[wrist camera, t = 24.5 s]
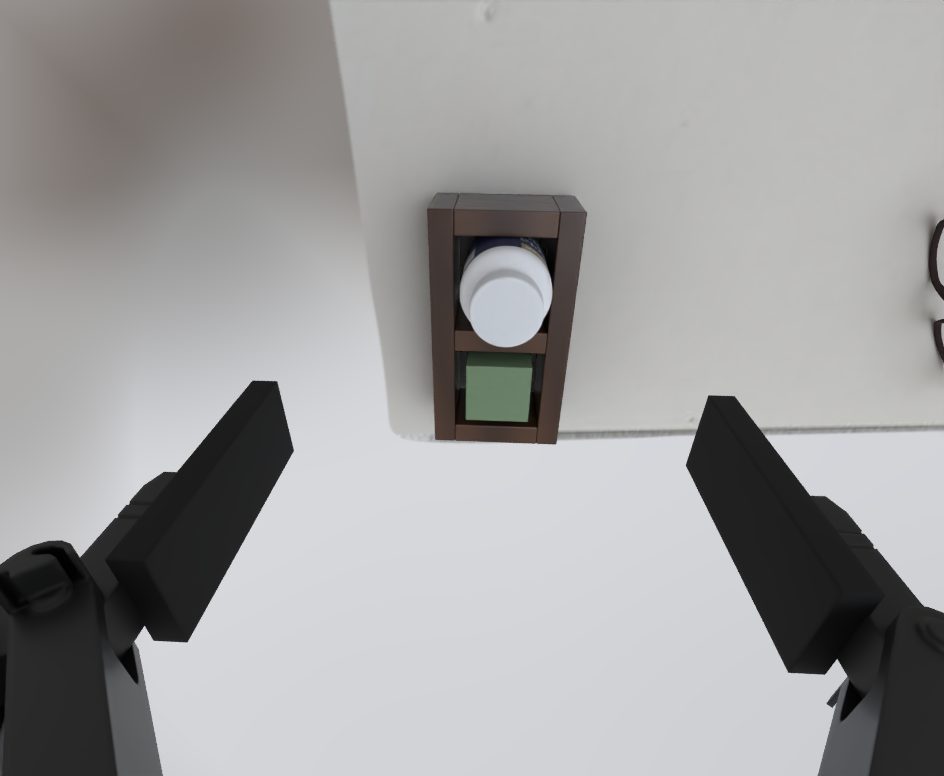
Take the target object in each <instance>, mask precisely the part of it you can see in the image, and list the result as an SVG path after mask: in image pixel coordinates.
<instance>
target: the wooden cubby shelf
mask: <svg viewBox="0 0 944 776" xmlns="http://www.w3.org/2000/svg"><path fill="white" fill-rule="evenodd" d="M427 216H428V245H429V274H430V302H431V331H432V360H433V389H434V418H435V439H436V440H456V441H480V442H506V443H533V444H534V443H537V444H556V442H557V435H558V428H559V420H560V412H561V405H562V397H563V390H564V382H565V375H566V367H567V360H568V352H569V345H570V337H571V330H572V322H573V315H574V307H575V300H576V292H577V285H578V277H579V270H580V262H581V254H582V247H583V239H584V232H585V224H586V217H587V212H586V211H585V209H584V208H583V207H582V205H581V204H580V203H579V201H578V200H577V198H576V197H575V196H557V195H553V196H551V195H512V194H466V193H461V194H460V195H459V194H458V193H437V194H436V196H435V197H434V199H433V201H432V202H431V204H430V206H429V207H428V209H427ZM460 236H484V237H524V238H548V244H547V255H546V263H547V267H548V271H549V274H550V278H551V282H552V301H551V305H550V308H549V310H548V312H547V314H546V316H545V317H544V319H543V322H542V325H541V327H540V328H539V330H538V332H537V333H536V334H535V335H534V336H533V337H532V338H531V339H530V340H528V341H527V342H525V343H523V344H521V345H518V346H513V347H499V346H495V345H492V344H489V343H488V342H486V341H484V340H483V339H482V338H480V337H479V336H478V335H477V333H476V332H475V330H474V329H473V327H472V325H471V322H470V321H469V320H468V318H467V317H466V315H465V313H464V311H463V309H462V306H461V302H460ZM460 351H477V352H507V353H537V360H536V371H535V382H534V392H531V391H530V402H529V413H528V421H527V422H515V421H489V420H466V389H460Z"/></svg>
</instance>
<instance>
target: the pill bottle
mask: <svg viewBox="0 0 944 776" xmlns="http://www.w3.org/2000/svg"><path fill="white" fill-rule="evenodd" d="M551 301H552V282H551V278H550V274H549V271H548V267H547V263H546V259H545V255H544V251H543V248H542V246H541V243H540V241H539V240H538V238H524V237H484V236H475V237H474V239H473V240H472V242H471V244H470V246H469V249H468V252H467V256H466V261H465V266H464V270H463V275H462V279H461V284H460V302H461V306H462V309H463V311H464V313H465V315H466V317H467V318H468V320H469V321H470V322H471V325H472V327H473V329H474V330H475V332H476V333H477V335H478V336H479V337H480V338H482V339H483V340H484V341H486V342H488V343H489V344H492V345H495V346H499V347H513V346H518V345H521V344H523V343H525V342H527V341H528V340H530V339H531V338H532V337H533V336H534V335H535V334H536V333H537V332H538V330H539V328H540V327H541V325H542V322H543V319H544V317H545V316H546V314H547V312H548V310H549V308H550V305H551Z"/></svg>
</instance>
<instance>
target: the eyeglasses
mask: <svg viewBox="0 0 944 776" xmlns="http://www.w3.org/2000/svg"><path fill="white" fill-rule="evenodd" d="M943 228H944V219H943V220H942V221H940V222H939V223H938V224H937V226H936V229H935V232H934V235H933V239H932V242H931V248H930V259H929V266H930V277H931V282H932V284H933V286H934V288H935V290H936V291H937V293H938V294H939V295H940V297H941V298H942V299H943V300H944V286H943V285H942V284H941V283H940V280H939V277H938V271H937V260H936V259H937V248H938V243H939V239H940V236H941V233H942V230H943ZM942 323H944V319H941V320H938V321H936V322H935V323H934V334H935V340H936V345H937V348H938V351H939V353H940V356H941V358H942V360H943V362H944V346H943V342H942V337H941V325H942Z"/></svg>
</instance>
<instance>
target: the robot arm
mask: <svg viewBox="0 0 944 776" xmlns="http://www.w3.org/2000/svg"><path fill="white" fill-rule="evenodd" d="M293 451H294V449H293V445H292V441H291V437H290V433H289V429H288V424H287V420H286V416H285V412H284V408H283V404H282V400H281V395H280V391H279V387H278V383H277V381H252V382H251V383H250V384H249V386H248V387H247V388H246V389H245V391H244V392H243V393H242V394H241V395H240V397H239V398H238V399H237V400H236V401H235V403H234V404H233V405H232V406H231V408H230V409H229V410H228V411H227V412H226V414H225V415H224V416H223V417H222V418H221V420H220V421H219V422H218V423H217V424H216V426H215V427H214V428H213V429H212V431H211V432H210V433H209V434H208V435H207V437H206V438H205V439H204V440H203V441H202V443H201V444H200V445H199V447H197V449H196V450H195V451H194V452H193V454H192V455H191V456H190V457H189V458H188V460H187V461H186V462H185V463H184V464H183V466H182V467H181V468H180V469H179V470H178V472H163V473H162V474H160V475H159V476H157V477H156V478H154V479H153V480H151V481H150V482H148V483H147V484H145V485H144V486H143V487H142V488H141V489H140V490H139V492H138V493H137V494H136V495H135V496H134V497H133V498H132V499H131V501H130V504H129V505H126V506H125V507H124V509H123V510H122V511H121V512H120V513H119V514H118V518H115V519H114V520H113V521H112V522H111V523H110V524H109V526H108V527H107V528H106V529H105V530H104V531H103V532H102V534H101V535H100V536H99V537H98V538H97V539H96V540H95V541H94V543H93V544H92V545H91V546H90V547H89V548H88V550H87V551H86V552H85V553H84V554H83V555H82V556H81V557H79V556H78V554H77V553H76V551H75V550H74V548H73V546H72V545H71V544H70V543H67V542H64V541H47V542H43V543H40V544H36V545H33V546H30V547H28V548H26V549H24V550H22V551H20V552H18V553H16V554H15V555H13V556H12V557H10V558H9V559H7V560H6V561H5V562H3V563H2V564H0V776H163V774H162V769H161V764H160V759H159V754H158V748H157V743H156V738H155V732H154V727H153V722H152V717H151V711H150V706H149V701H148V697H147V691H146V686H145V681H144V675H143V670H142V665H141V659H140V655H139V649H138V648H137V646H136V644H135V642H134V641H135V639H136V638H137V636H138V635H139V633H140V632H141V630H142V629H143V627H144V626H145V627H146V629H147V630H148V632H149V634H150V635H151V637H152V639H153V640H154V641H171V642H188V640H189V639H190V637H191V635H192V633H193V631H194V630H195V628H196V626H197V624H198V622H199V621H200V619H201V617H202V615H203V613H204V612H205V610H206V608H207V606H208V604H209V603H210V601H211V599H212V597H213V595H214V594H215V592H216V590H217V588H218V586H219V584H220V583H221V581H222V579H223V577H224V575H225V574H226V572H227V570H228V568H229V567H230V565H231V563H232V561H233V559H234V558H235V556H236V554H237V552H238V550H239V549H240V547H241V545H242V543H243V541H244V540H245V537H246V536H247V534H248V532H249V531H250V529H251V527H252V525H253V523H254V521H255V520H256V518H257V516H258V514H259V513H260V511H261V509H262V507H263V505H264V504H265V502H266V500H267V498H268V496H269V494H270V493H271V491H272V489H273V487H274V486H275V484H276V482H277V480H278V478H279V476H280V475H281V473H282V471H283V469H284V468H285V466H286V464H287V462H288V460H289V459H290V457H291V455H292V453H293ZM686 467H687V469H688V471H689V472H690V475H691V477H692V478H693V481H694V483H695V485H696V487H697V489H698V491H699V493H700V495H701V497H702V499H703V501H704V503H705V505H706V507H707V509H708V511H709V513H710V515H711V517H712V519H713V521H714V523H715V525H716V527H717V529H718V531H719V533H720V535H721V537H722V539H723V541H724V543H725V545H726V547H727V549H728V552H729V554H730V556H731V558H732V560H733V562H734V564H735V566H736V567H737V569H738V572H739V574H740V576H741V578H742V580H743V582H744V584H745V586H746V588H747V590H748V592H749V594H750V596H751V598H752V600H753V602H754V604H755V606H756V608H757V610H758V612H759V614H760V616H761V618H762V620H763V622H764V624H765V626H766V628H767V630H768V632H769V634H770V636H771V638H772V640H773V642H774V644H775V647H776V649H777V650H778V653H779V655H780V656H781V659H782V661H783V663H784V665H785V667H786V669H787V671H788V673H805V674H824V675H825V674H826V673H827V671H828V670H829V669H830V667H831V666H832V665H833V663H834V662H835V661H836V660H837V659H838V661H839V662H840V664H841V666H842V667H843V669H844V671H845V673H846V674H847V676H848V677H847V678H846V679H845V680H844V682H843V683H842V684H841V685H840V687H839V688H838V689H837V690H836V691H835V693H834V694H833V695H832V696H831V698H830V699H829V701H828V702H827V705H829V706H831V707H833V706H834V705H835V704H836V703H837V704H836V708H835V711H834V715H833V719H832V723H831V727H830V731H829V735H828V738H827V742H826V746H825V750H824V754H823V758H822V762H821V766H820V769H819V773H818V776H944V613H942V612H940V611H937V610H935V609H932V608H929V607H924V606H923V605H922V604H921V603H920V602H919V600H918V599H917V598H916V596H915V595H914V594H913V593H912V592H911V590H910V589H909V588H908V587H907V585H906V584H905V583H904V582H903V581H902V579H901V578H900V577H899V576H898V574H897V573H896V572H895V571H894V570H893V568H892V567H891V566H890V565H889V563H888V562H887V561H886V560H885V559H884V557H883V556H882V555H881V554H880V552H879V551H878V550H877V549H874V548H873V544H872V543H871V542H870V540H869V539H868V538H867V536H866V535H865V534H862V533H861V531H862V530H861V529H860V528H859V527H858V525H856V523H855V522H854V521H853V519H852V518H851V517H850V516H849V515H848V513H847V512H846V511H844V510H843V509H842V508H840V507H839V506H838V505H836V504H835V503H834V502H832V501H831V500H830V499H828V498H827V497H825V496H810V495H809V494H808V492H807V491H806V490H805V488H804V487H803V486H802V484H801V483H800V482H799V480H798V479H797V478H796V477H795V475H794V474H793V473H792V471H791V470H790V469H789V467H788V466H787V465H786V463H785V462H784V461H783V459H782V458H781V457H780V455H779V454H778V453H777V452H776V450H775V449H774V448H773V446H772V445H771V444H770V442H769V441H768V440H767V438H766V437H765V436H764V434H763V433H762V432H761V430H760V429H759V428H758V427H757V425H756V424H755V423H754V421H753V420H752V419H751V417H750V416H749V415H748V413H747V412H746V411H745V409H744V408H743V407H742V406H741V404H740V403H739V402H738V400H737V399H736V398H735V396H708V399H707V402H706V405H705V408H704V411H703V414H702V417H701V420H700V423H699V426H698V429H697V433H696V436H695V439H694V442H693V445H692V448H691V451H690V454H689V457H688V460H687V464H686Z"/></svg>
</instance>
